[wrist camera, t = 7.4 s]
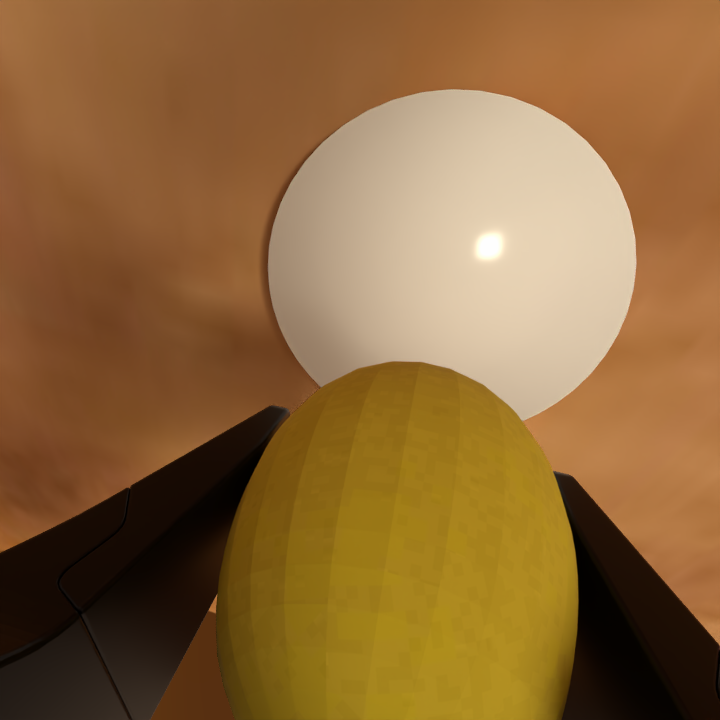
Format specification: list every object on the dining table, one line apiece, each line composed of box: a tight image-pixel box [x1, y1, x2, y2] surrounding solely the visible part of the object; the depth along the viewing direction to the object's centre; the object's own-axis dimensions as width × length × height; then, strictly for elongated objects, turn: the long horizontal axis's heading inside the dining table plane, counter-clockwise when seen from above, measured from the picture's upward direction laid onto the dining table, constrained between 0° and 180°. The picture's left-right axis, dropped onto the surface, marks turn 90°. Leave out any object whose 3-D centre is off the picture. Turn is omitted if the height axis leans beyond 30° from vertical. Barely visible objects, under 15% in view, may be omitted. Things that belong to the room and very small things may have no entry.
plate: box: [268, 89, 636, 421], centre depth 17 cm, size 14×14×1 cm
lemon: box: [216, 361, 578, 720], centre depth 7 cm, size 6×6×8 cm
